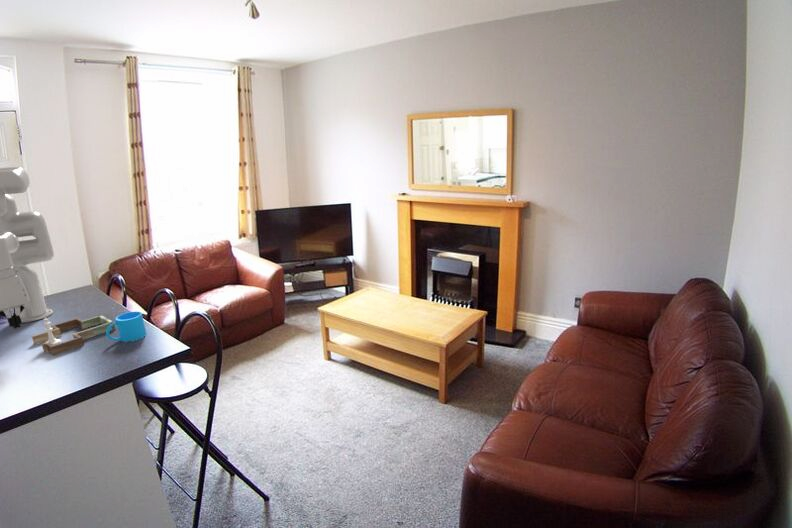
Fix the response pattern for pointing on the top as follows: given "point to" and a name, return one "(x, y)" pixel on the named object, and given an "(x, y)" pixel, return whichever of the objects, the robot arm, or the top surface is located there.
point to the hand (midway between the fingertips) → (16, 327)
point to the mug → (128, 326)
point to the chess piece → (50, 335)
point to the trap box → (77, 336)
